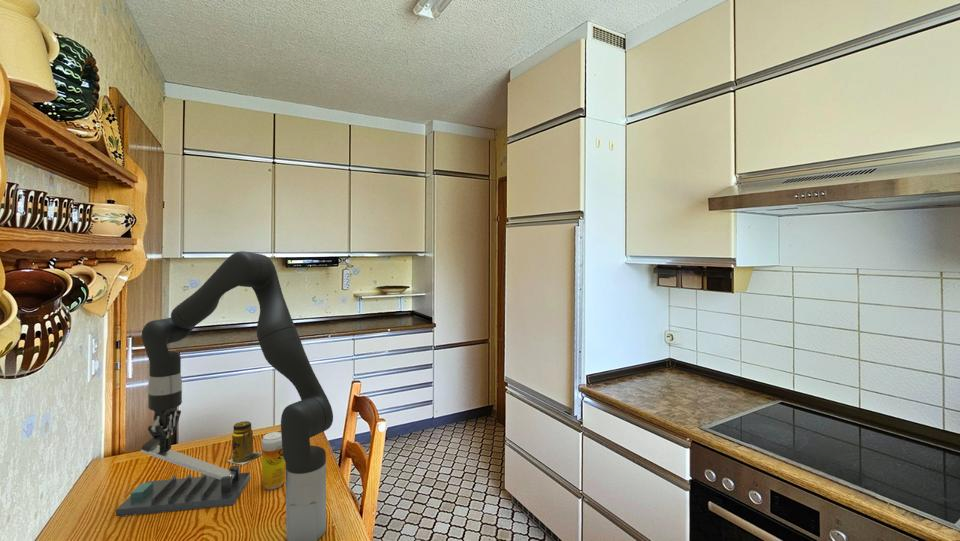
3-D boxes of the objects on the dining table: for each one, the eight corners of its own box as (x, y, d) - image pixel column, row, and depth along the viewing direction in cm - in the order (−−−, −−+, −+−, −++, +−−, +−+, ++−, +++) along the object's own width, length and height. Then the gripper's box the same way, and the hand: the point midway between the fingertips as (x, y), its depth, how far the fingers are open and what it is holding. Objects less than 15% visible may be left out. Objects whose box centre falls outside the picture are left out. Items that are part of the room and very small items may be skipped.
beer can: (275, 491, 123) (275, 440, 123) (257, 489, 125) (257, 438, 124) (289, 480, 129) (288, 432, 129) (271, 478, 130) (271, 430, 130)
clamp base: (233, 505, 116) (233, 483, 116) (116, 516, 111) (115, 494, 111) (250, 478, 130) (249, 459, 130) (146, 488, 125) (146, 468, 124)
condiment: (226, 461, 141) (225, 426, 141) (248, 450, 149) (247, 417, 148) (242, 465, 138) (242, 429, 138) (263, 454, 146) (263, 419, 146)
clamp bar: (228, 485, 120) (232, 477, 120) (138, 453, 115) (143, 445, 116) (235, 476, 125) (239, 468, 125) (149, 445, 120) (153, 437, 120)
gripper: (168, 397, 113) (168, 461, 113) (191, 382, 126) (191, 439, 126) (135, 398, 111) (136, 463, 112) (162, 383, 124) (162, 441, 125)
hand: (165, 450), depth 119 cm, fingers closed
